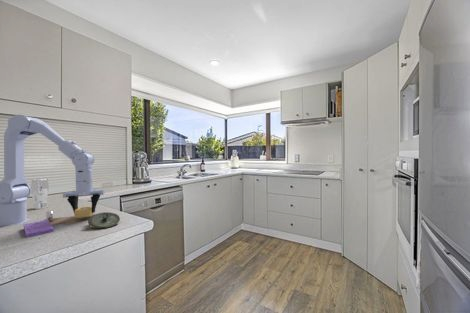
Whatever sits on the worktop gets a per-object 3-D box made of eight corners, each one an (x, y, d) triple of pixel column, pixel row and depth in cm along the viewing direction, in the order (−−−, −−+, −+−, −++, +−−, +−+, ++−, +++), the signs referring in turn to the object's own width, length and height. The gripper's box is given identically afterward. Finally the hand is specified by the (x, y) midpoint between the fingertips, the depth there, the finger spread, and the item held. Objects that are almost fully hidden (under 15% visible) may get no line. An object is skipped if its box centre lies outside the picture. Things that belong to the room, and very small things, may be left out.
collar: (74, 217, 86) (74, 210, 86) (79, 214, 91) (79, 207, 91) (90, 216, 88) (90, 209, 88) (94, 212, 93) (94, 206, 93)
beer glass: (28, 208, 111) (28, 180, 111) (45, 205, 117) (44, 178, 117) (34, 210, 107) (33, 180, 107) (51, 207, 114) (50, 179, 114)
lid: (114, 219, 89) (114, 207, 89) (124, 224, 83) (124, 211, 83) (84, 226, 81) (84, 213, 81) (93, 232, 74) (93, 217, 74)
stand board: (32, 228, 80) (31, 215, 80) (45, 220, 89) (45, 209, 89) (91, 221, 86) (91, 210, 86) (97, 215, 96) (97, 205, 96)
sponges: (48, 223, 82) (48, 219, 82) (54, 232, 74) (53, 227, 74) (23, 229, 77) (23, 224, 77) (26, 239, 69) (25, 233, 69)
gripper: (59, 183, 83) (59, 217, 83) (101, 181, 88) (102, 213, 88) (66, 181, 90) (67, 213, 90) (105, 179, 95) (106, 209, 95)
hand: (84, 212), depth 90 cm, fingers closed on collar, 6 cm apart
